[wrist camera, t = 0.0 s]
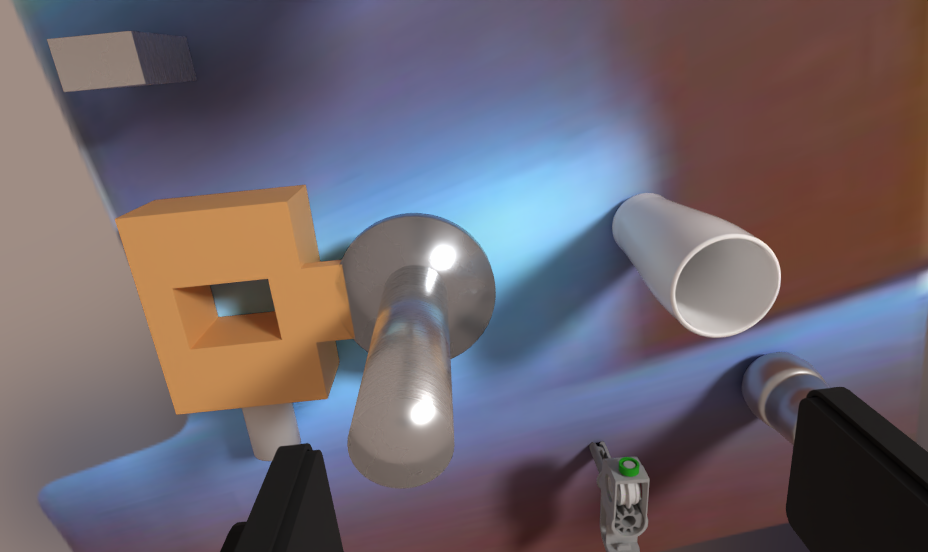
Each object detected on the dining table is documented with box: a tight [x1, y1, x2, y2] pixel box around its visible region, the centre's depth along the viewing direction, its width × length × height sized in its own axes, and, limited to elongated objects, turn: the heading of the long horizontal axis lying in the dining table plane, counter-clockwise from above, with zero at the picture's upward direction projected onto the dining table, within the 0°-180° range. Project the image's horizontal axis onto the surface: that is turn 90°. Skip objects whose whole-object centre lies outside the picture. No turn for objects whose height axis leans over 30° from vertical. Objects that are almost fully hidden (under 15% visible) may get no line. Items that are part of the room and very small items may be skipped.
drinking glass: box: [612, 193, 781, 338], centre depth 41 cm, size 7×7×15 cm
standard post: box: [335, 213, 496, 488], centre depth 37 cm, size 12×12×24 cm
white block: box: [47, 31, 197, 92], centre depth 38 cm, size 3×5×8 cm, turn 95°
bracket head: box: [115, 185, 355, 461], centre depth 47 cm, size 22×15×6 cm
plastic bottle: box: [742, 352, 831, 445], centre depth 44 cm, size 6×7×20 cm
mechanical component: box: [589, 442, 650, 552], centre depth 51 cm, size 3×10×10 cm, turn 3°
